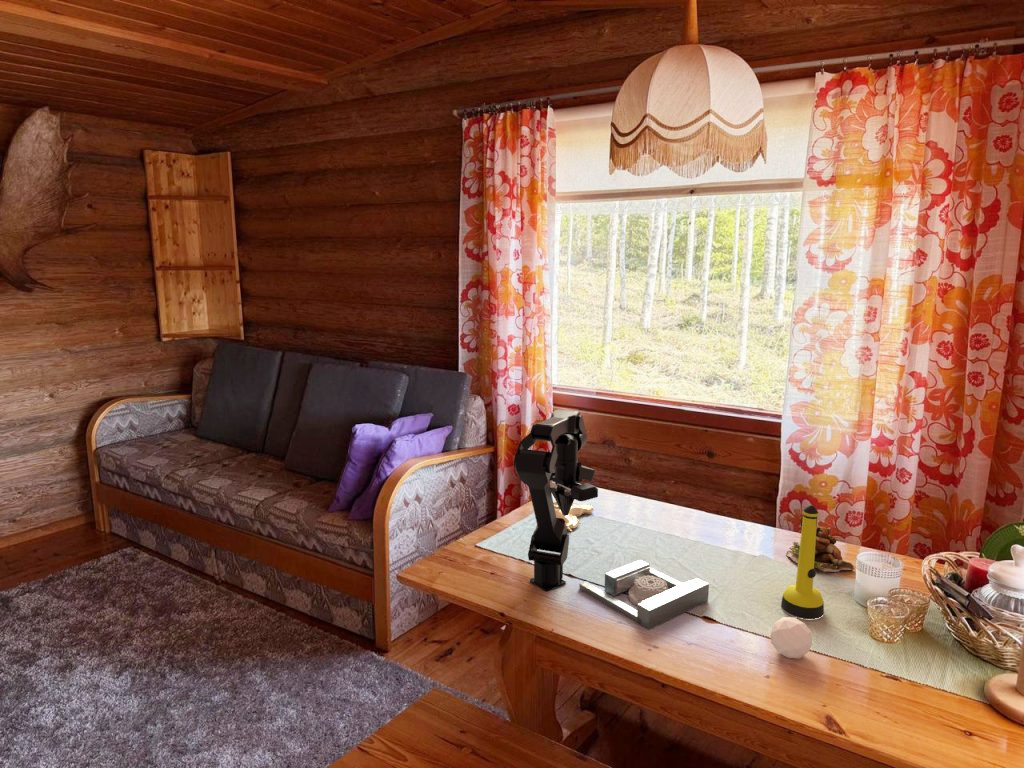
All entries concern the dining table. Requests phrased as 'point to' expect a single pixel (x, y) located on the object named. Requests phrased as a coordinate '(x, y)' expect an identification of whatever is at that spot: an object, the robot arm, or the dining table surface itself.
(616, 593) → the block
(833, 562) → the mossy log pile
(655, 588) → the mechanical component
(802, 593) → the flashlight
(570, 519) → the unicorn
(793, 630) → the ball
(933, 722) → the dining table surface
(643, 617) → the vise
